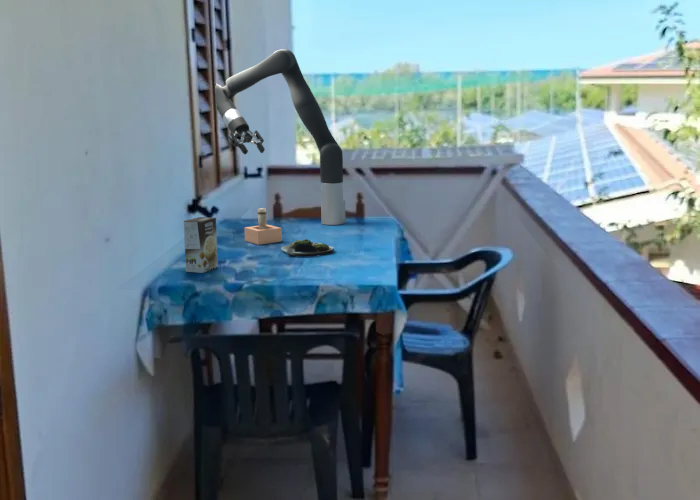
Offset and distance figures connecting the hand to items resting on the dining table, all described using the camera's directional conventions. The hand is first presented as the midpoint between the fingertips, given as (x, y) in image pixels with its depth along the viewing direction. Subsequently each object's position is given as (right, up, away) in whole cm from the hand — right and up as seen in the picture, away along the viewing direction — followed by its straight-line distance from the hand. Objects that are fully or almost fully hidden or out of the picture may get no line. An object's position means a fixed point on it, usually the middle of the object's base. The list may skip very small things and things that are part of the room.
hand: (254, 152), depth 315 cm
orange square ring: (+6, -36, -21) cm, 42 cm away
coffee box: (-8, -45, -67) cm, 81 cm away
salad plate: (+23, -40, -42) cm, 62 cm away
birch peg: (+6, -36, -21) cm, 42 cm away
